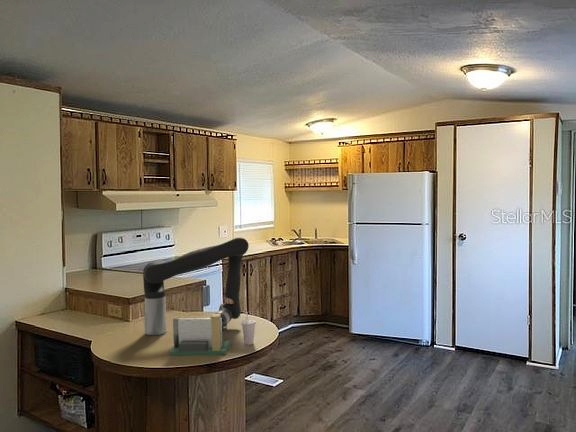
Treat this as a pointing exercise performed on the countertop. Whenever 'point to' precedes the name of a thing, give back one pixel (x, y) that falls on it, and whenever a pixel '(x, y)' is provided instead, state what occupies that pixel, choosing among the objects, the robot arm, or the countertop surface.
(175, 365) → the countertop surface
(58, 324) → the countertop surface
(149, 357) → the countertop surface
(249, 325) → the smoothie
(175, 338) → the white upright panel
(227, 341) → the bracket
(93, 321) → the countertop surface
